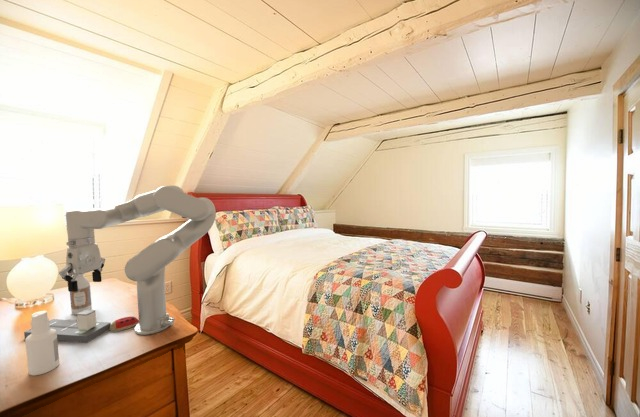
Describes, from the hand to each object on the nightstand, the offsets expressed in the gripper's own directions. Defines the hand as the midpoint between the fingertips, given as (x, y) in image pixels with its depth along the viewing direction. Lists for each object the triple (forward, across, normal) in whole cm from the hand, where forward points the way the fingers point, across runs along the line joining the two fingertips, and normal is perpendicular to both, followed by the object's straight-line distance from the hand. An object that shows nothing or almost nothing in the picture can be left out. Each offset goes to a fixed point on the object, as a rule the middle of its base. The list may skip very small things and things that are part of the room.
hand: (85, 286), depth 104 cm
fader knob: (+16, -1, 0) cm, 16 cm away
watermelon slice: (+19, +6, -10) cm, 22 cm away
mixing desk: (+19, -1, +8) cm, 20 cm away
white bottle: (+19, -20, -5) cm, 28 cm away
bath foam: (+19, +16, +21) cm, 32 cm away
